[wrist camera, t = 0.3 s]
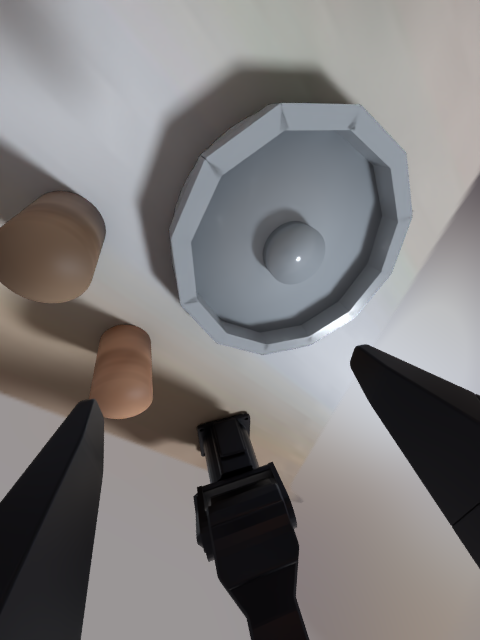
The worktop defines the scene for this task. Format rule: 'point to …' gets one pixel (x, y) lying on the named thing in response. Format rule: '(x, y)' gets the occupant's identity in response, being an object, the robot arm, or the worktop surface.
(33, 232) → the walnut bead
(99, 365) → the brown cork stopper
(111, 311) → the worktop surface
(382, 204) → the groove tray
